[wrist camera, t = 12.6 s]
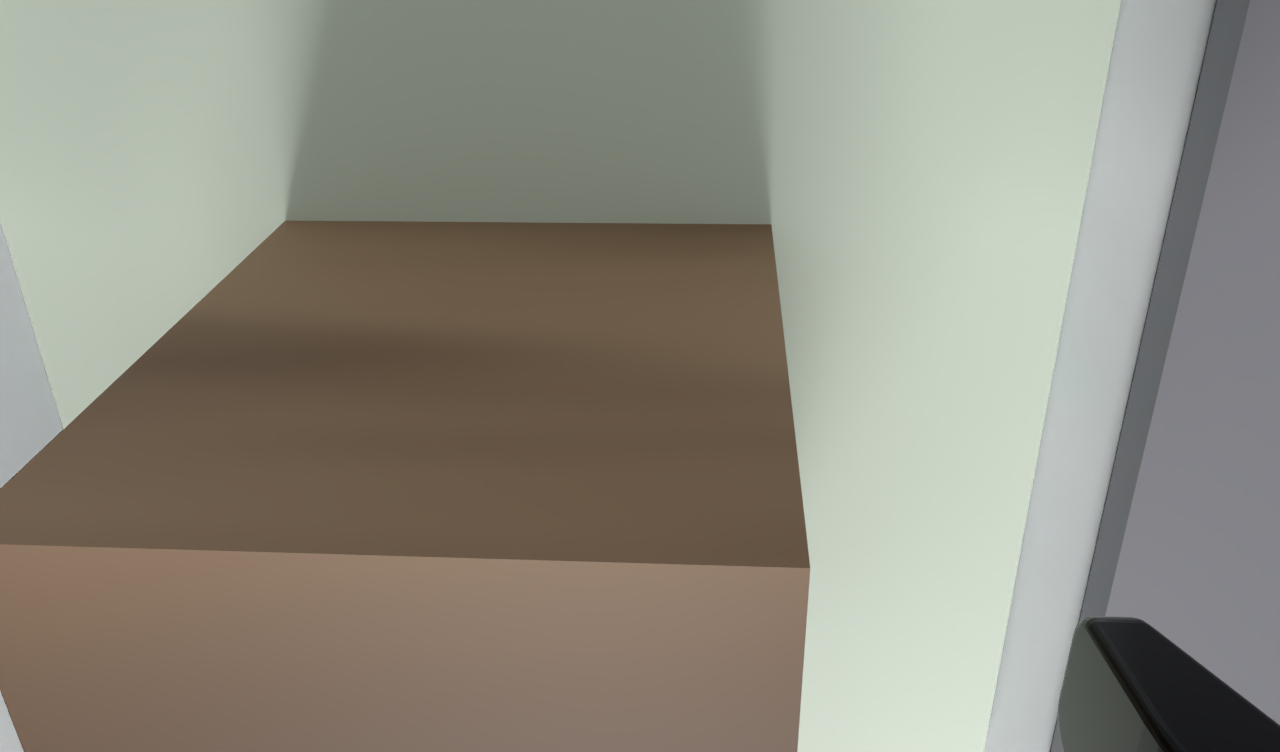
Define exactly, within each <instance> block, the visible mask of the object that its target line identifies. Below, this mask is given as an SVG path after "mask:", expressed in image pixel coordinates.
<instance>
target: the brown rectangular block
mask: <svg viewBox="0 0 1280 752" xmlns="http://www.w3.org/2000/svg"><path fill="white" fill-rule="evenodd" d="M809 580H810V561H809V552H808V543H807V534H806V526H805V517H804V508H803V499H802V490H801V481H800V473H799V464H798V455H797V446H796V437H795V428H794V420H793V411H792V402H791V393H790V384H789V376H788V367H787V358H786V349H785V340H784V331H783V323H782V314H781V305H780V296H779V287H778V279H777V270H776V261H775V252H774V243H773V234H772V226H771V224H653V223H529V222H405V221H284V222H283V223H282V224H281V225H280V226H279V227H278V228H277V229H276V230H275V231H274V232H273V233H271V234H270V235H269V236H268V237H267V238H266V239H265V240H264V241H263V242H262V243H261V244H260V245H259V246H258V247H257V248H256V249H255V250H253V251H252V252H251V253H250V254H249V255H248V256H247V257H246V258H245V259H244V260H243V261H242V262H241V263H240V264H239V265H238V266H236V267H235V268H234V269H233V270H232V271H231V272H230V273H229V274H228V275H227V276H226V277H225V278H224V279H223V280H222V281H221V282H219V283H218V284H217V285H216V286H215V287H214V288H213V289H212V290H211V291H210V292H209V293H208V294H207V295H206V296H205V297H204V298H202V299H201V300H200V301H199V302H198V303H197V304H196V305H195V306H194V307H193V308H192V309H191V310H190V311H189V312H188V313H187V314H185V315H184V316H183V317H182V318H181V319H180V320H179V321H178V322H177V323H176V324H175V325H174V326H173V327H172V328H171V329H170V330H168V331H167V332H166V333H165V334H164V335H163V336H162V337H161V338H160V339H159V340H158V341H157V342H156V343H155V344H154V345H153V346H152V347H150V348H149V349H148V350H147V351H146V352H145V353H144V354H143V355H142V356H141V357H140V358H139V359H138V360H137V361H136V362H135V363H133V364H132V365H131V366H130V367H129V368H128V369H127V370H126V371H125V372H124V373H123V374H122V375H121V376H120V377H119V378H118V379H116V380H115V381H114V382H113V383H112V384H111V385H110V386H109V387H108V388H107V389H106V390H105V391H104V392H103V393H102V394H101V395H99V396H98V397H97V398H96V399H95V400H94V401H93V402H92V403H91V404H90V405H89V406H88V407H87V408H86V409H85V410H84V411H82V412H81V413H80V414H79V415H78V416H77V417H76V418H75V419H74V420H73V421H72V422H71V423H70V424H69V425H68V426H67V427H66V428H64V429H63V430H62V431H61V432H60V433H59V434H58V435H57V436H56V437H55V438H54V439H53V440H52V441H51V442H50V443H49V444H47V445H46V446H45V447H44V448H43V449H42V450H41V451H40V452H39V453H38V454H37V455H36V456H35V457H34V458H33V459H32V460H30V461H29V462H28V463H27V464H26V465H25V466H24V467H23V468H22V469H21V470H20V471H19V472H18V473H17V474H16V475H15V476H13V477H12V478H11V479H10V480H9V481H8V482H7V483H6V484H5V485H4V486H3V487H2V488H1V489H0V691H1V693H2V696H3V699H4V701H5V704H6V706H7V709H8V712H9V714H10V717H11V719H12V722H13V725H14V727H15V730H16V732H17V735H18V737H19V740H20V743H21V745H22V748H23V750H24V752H797V749H798V735H799V721H800V707H801V693H802V679H803V665H804V651H805V636H806V622H807V608H808V594H809Z"/></svg>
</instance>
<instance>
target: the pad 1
mask: <svg viewBox="0 0 1280 752" xmlns="http://www.w3.org/2000/svg"><path fill="white" fill-rule="evenodd" d="M1120 5H1121V0H0V223H1V226H2V229H3V233H4V236H5V239H6V242H7V246H8V249H9V252H10V256H11V259H12V262H13V266H14V269H15V272H16V275H17V279H18V282H19V285H20V289H21V292H22V295H23V298H24V302H25V305H26V308H27V312H28V315H29V318H30V321H31V325H32V328H33V331H34V335H35V338H36V341H37V345H38V348H39V351H40V354H41V358H42V361H43V364H44V368H45V371H46V374H47V377H48V381H49V384H50V387H51V391H52V394H53V397H54V400H55V404H56V407H57V410H58V414H59V417H60V420H61V424H62V427H63V429H64V428H66V427H67V426H68V425H69V424H70V423H71V422H72V421H73V420H74V419H75V418H76V417H77V416H78V415H79V414H80V413H81V412H82V411H84V410H85V409H86V408H87V407H88V406H89V405H90V404H91V403H92V402H93V401H94V400H95V399H96V398H97V397H98V396H99V395H101V394H102V393H103V392H104V391H105V390H106V389H107V388H108V387H109V386H110V385H111V384H112V383H113V382H114V381H115V380H116V379H118V378H119V377H120V376H121V375H122V374H123V373H124V372H125V371H126V370H127V369H128V368H129V367H130V366H131V365H132V364H133V363H135V362H136V361H137V360H138V359H139V358H140V357H141V356H142V355H143V354H144V353H145V352H146V351H147V350H148V349H149V348H150V347H152V346H153V345H154V344H155V343H156V342H157V341H158V340H159V339H160V338H161V337H162V336H163V335H164V334H165V333H166V332H167V331H168V330H170V329H171V328H172V327H173V326H174V325H175V324H176V323H177V322H178V321H179V320H180V319H181V318H182V317H183V316H184V315H185V314H187V313H188V312H189V311H190V310H191V309H192V308H193V307H194V306H195V305H196V304H197V303H198V302H199V301H200V300H201V299H202V298H204V297H205V296H206V295H207V294H208V293H209V292H210V291H211V290H212V289H213V288H214V287H215V286H216V285H217V284H218V283H219V282H221V281H222V280H223V279H224V278H225V277H226V276H227V275H228V274H229V273H230V272H231V271H232V270H233V269H234V268H235V267H236V266H238V265H239V264H240V263H241V262H242V261H243V260H244V259H245V258H246V257H247V256H248V255H249V254H250V253H251V252H252V251H253V250H255V249H256V248H257V247H258V246H259V245H260V244H261V243H262V242H263V241H264V240H265V239H266V238H267V237H268V236H269V235H270V234H271V233H273V232H274V231H275V230H276V229H277V228H278V227H279V226H280V225H281V224H282V223H283V222H284V221H405V222H529V223H653V224H771V226H772V234H773V243H774V252H775V261H776V270H777V279H778V287H779V296H780V305H781V314H782V323H783V331H784V340H785V349H786V358H787V367H788V376H789V384H790V393H791V402H792V411H793V420H794V428H795V437H796V446H797V455H798V464H799V473H800V481H801V490H802V499H803V508H804V517H805V526H806V534H807V543H808V552H809V561H810V580H809V594H808V608H807V622H806V636H805V651H804V665H803V679H802V693H801V707H800V721H799V735H798V749H797V752H984V749H985V744H986V738H987V733H988V727H989V722H990V716H991V711H992V705H993V700H994V694H995V689H996V683H997V678H998V672H999V667H1000V662H1001V656H1002V651H1003V645H1004V640H1005V634H1006V629H1007V623H1008V618H1009V612H1010V607H1011V601H1012V596H1013V590H1014V585H1015V579H1016V574H1017V569H1018V563H1019V558H1020V552H1021V547H1022V541H1023V536H1024V530H1025V525H1026V519H1027V514H1028V508H1029V503H1030V497H1031V492H1032V486H1033V481H1034V475H1035V470H1036V465H1037V459H1038V454H1039V448H1040V443H1041V437H1042V432H1043V426H1044V421H1045V415H1046V410H1047V404H1048V399H1049V393H1050V388H1051V382H1052V377H1053V371H1054V366H1055V361H1056V355H1057V350H1058V344H1059V339H1060V333H1061V328H1062V322H1063V317H1064V311H1065V306H1066V300H1067V295H1068V289H1069V284H1070V278H1071V273H1072V268H1073V262H1074V257H1075V251H1076V246H1077V240H1078V235H1079V229H1080V224H1081V218H1082V213H1083V207H1084V202H1085V196H1086V191H1087V185H1088V180H1089V174H1090V169H1091V164H1092V158H1093V153H1094V147H1095V142H1096V136H1097V131H1098V125H1099V120H1100V114H1101V109H1102V103H1103V98H1104V92H1105V87H1106V81H1107V76H1108V71H1109V65H1110V60H1111V54H1112V49H1113V43H1114V38H1115V32H1116V27H1117V21H1118V16H1119V10H1120Z"/></svg>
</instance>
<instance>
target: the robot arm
mask: <svg viewBox="0 0 1280 752" xmlns="http://www.w3.org/2000/svg"><path fill="white" fill-rule="evenodd" d="M1058 722H1059V731H1060V737H1061V742H1062V747H1063V751H1064V752H1280V725H1279V724H1278V723H1276V722H1275V721H1274V720H1273V719H1271V718H1270V717H1269V716H1267V715H1266V714H1265V713H1264V712H1262V711H1261V710H1260V709H1258V708H1257V707H1256V706H1254V705H1253V704H1252V703H1251V702H1249V701H1248V700H1247V699H1245V698H1244V697H1243V696H1242V695H1240V694H1239V693H1238V692H1236V691H1235V690H1234V689H1232V688H1231V687H1230V686H1229V685H1227V684H1226V683H1225V682H1223V681H1222V680H1221V679H1219V678H1218V677H1217V676H1216V675H1214V674H1213V673H1212V672H1210V671H1209V670H1208V669H1207V668H1205V667H1204V666H1203V665H1201V664H1200V663H1199V662H1197V661H1196V660H1195V659H1194V658H1192V657H1191V656H1190V655H1188V654H1187V653H1186V652H1185V651H1183V650H1182V649H1181V648H1179V647H1178V646H1177V645H1175V644H1174V643H1173V642H1172V641H1170V640H1169V639H1168V638H1166V637H1165V636H1164V635H1162V634H1161V633H1160V632H1159V631H1157V630H1156V629H1155V628H1153V627H1152V626H1151V625H1149V624H1148V623H1146V622H1145V621H1143V620H1141V619H1138V618H1132V617H1104V616H1088V617H1086V618H1084V619H1082V620H1081V621H1080V622H1079V623H1078V625H1077V627H1076V629H1075V632H1074V635H1073V639H1072V644H1071V648H1070V653H1069V658H1068V662H1067V667H1066V671H1065V676H1064V680H1063V685H1062V689H1061V694H1060V699H1059V708H1058Z"/></svg>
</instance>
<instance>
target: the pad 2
mask: <svg viewBox="0 0 1280 752" xmlns="http://www.w3.org/2000/svg"><path fill="white" fill-rule="evenodd" d="M1088 616H1104V617H1132V618H1138V619H1141V620H1143V621H1145V622H1146V623H1148V624H1149V625H1151V626H1152V627H1153V628H1155V629H1156V630H1157V631H1159V632H1160V633H1161V634H1162V635H1164V636H1165V637H1166V638H1168V639H1169V640H1170V641H1172V642H1173V643H1174V644H1175V645H1177V646H1178V647H1179V648H1181V649H1182V650H1183V651H1185V652H1186V653H1187V654H1188V655H1190V656H1191V657H1192V658H1194V659H1195V660H1196V661H1197V662H1199V663H1200V664H1201V665H1203V666H1204V667H1205V668H1207V669H1208V670H1209V671H1210V672H1212V673H1213V674H1214V675H1216V676H1217V677H1218V678H1219V679H1221V680H1222V681H1223V682H1225V683H1226V684H1227V685H1229V686H1230V687H1231V688H1232V689H1234V690H1235V691H1236V692H1238V693H1239V694H1240V695H1242V696H1243V697H1244V698H1245V699H1247V700H1248V701H1249V702H1251V703H1252V704H1253V705H1254V706H1256V707H1257V708H1258V709H1260V710H1261V711H1262V712H1264V713H1265V714H1266V715H1267V716H1269V717H1270V718H1271V719H1273V720H1274V721H1275V722H1276V723H1278V724H1279V725H1280V0H1217V3H1216V8H1215V12H1214V17H1213V21H1212V26H1211V30H1210V35H1209V39H1208V44H1207V48H1206V53H1205V57H1204V62H1203V67H1202V71H1201V76H1200V80H1199V85H1198V89H1197V94H1196V98H1195V103H1194V107H1193V112H1192V116H1191V121H1190V125H1189V130H1188V134H1187V139H1186V143H1185V148H1184V152H1183V157H1182V161H1181V166H1180V170H1179V175H1178V179H1177V184H1176V188H1175V193H1174V197H1173V202H1172V206H1171V211H1170V215H1169V220H1168V224H1167V229H1166V233H1165V238H1164V242H1163V247H1162V251H1161V256H1160V260H1159V265H1158V269H1157V274H1156V278H1155V283H1154V287H1153V292H1152V296H1151V301H1150V305H1149V310H1148V314H1147V319H1146V323H1145V328H1144V332H1143V337H1142V341H1141V346H1140V350H1139V355H1138V359H1137V364H1136V368H1135V373H1134V377H1133V382H1132V386H1131V391H1130V395H1129V400H1128V404H1127V409H1126V413H1125V418H1124V422H1123V427H1122V431H1121V436H1120V440H1119V445H1118V449H1117V454H1116V458H1115V463H1114V467H1113V472H1112V476H1111V481H1110V485H1109V490H1108V494H1107V499H1106V503H1105V508H1104V512H1103V517H1102V521H1101V526H1100V531H1099V535H1098V540H1097V544H1096V549H1095V553H1094V558H1093V562H1092V567H1091V571H1090V576H1089V580H1088V585H1087V589H1086V594H1085V598H1084V603H1083V607H1082V612H1081V616H1080V621H1081V620H1082V619H1084V618H1086V617H1088ZM1080 621H1079V622H1080ZM1050 752H1064V751H1063V747H1062V742H1061V737H1060V731H1059V722H1058V720H1057V724H1056V729H1055V733H1054V738H1053V742H1052V747H1051V751H1050Z"/></svg>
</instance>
